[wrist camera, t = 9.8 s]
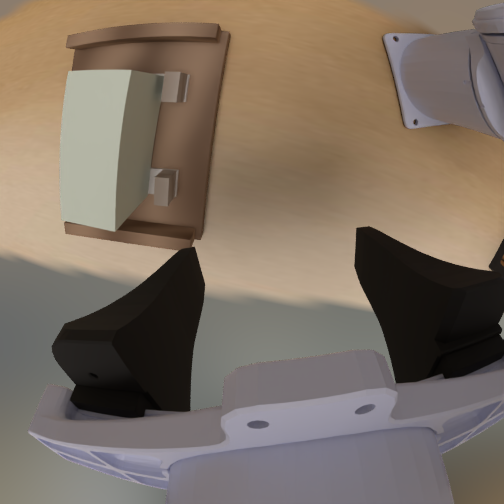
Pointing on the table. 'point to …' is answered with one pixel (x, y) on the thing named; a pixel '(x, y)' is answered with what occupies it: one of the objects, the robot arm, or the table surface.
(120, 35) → the brown wooden holder
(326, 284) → the table surface
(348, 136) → the table surface
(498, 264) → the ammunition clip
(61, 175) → the tapered sage green block
